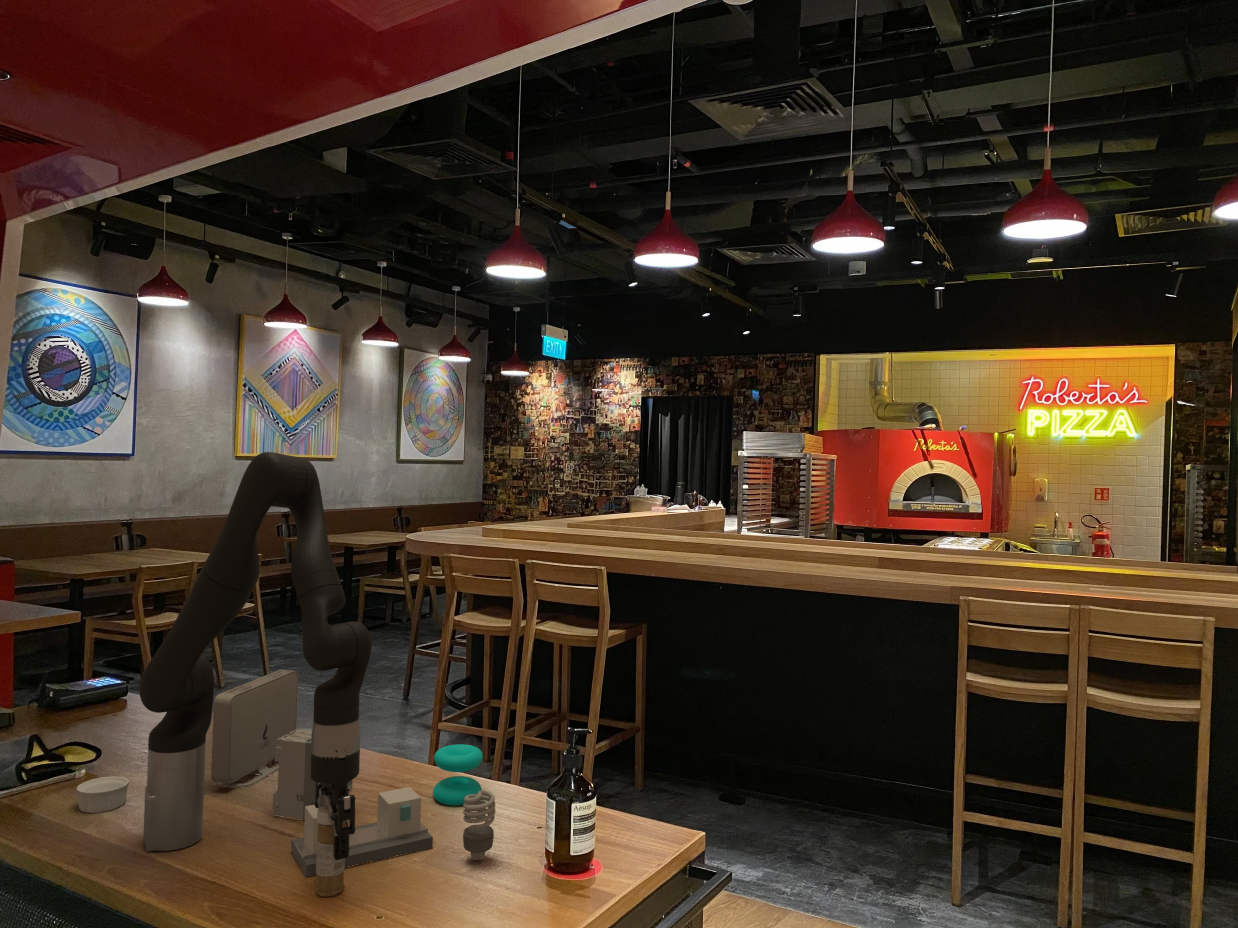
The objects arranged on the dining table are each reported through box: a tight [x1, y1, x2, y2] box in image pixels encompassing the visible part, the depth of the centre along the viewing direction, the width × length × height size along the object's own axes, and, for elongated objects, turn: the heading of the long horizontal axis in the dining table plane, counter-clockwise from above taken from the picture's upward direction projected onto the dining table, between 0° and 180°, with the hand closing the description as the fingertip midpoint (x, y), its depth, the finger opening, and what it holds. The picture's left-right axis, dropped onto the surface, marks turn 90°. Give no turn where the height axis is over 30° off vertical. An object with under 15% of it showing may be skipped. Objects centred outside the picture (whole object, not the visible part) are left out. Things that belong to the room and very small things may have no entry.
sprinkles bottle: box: [314, 805, 346, 898], centre depth 137 cm, size 5×5×14 cm
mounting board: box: [290, 821, 434, 878], centre depth 152 cm, size 22×11×2 cm, turn 124°
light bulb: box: [462, 790, 496, 862], centre depth 149 cm, size 6×6×12 cm
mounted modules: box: [303, 786, 422, 854], centre depth 152 cm, size 19×7×6 cm, turn 124°
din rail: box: [295, 821, 429, 859], centre depth 152 cm, size 22×6×1 cm, turn 124°
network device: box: [210, 669, 299, 789], centre depth 188 cm, size 26×9×20 cm, turn 170°
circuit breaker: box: [272, 727, 354, 820], centre depth 167 cm, size 8×14×15 cm, turn 78°
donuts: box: [432, 743, 484, 806], centre depth 177 cm, size 10×10×10 cm
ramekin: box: [76, 776, 130, 814], centre depth 167 cm, size 9×9×4 cm
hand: (333, 847), depth 137 cm, fingers open, 8 cm apart
